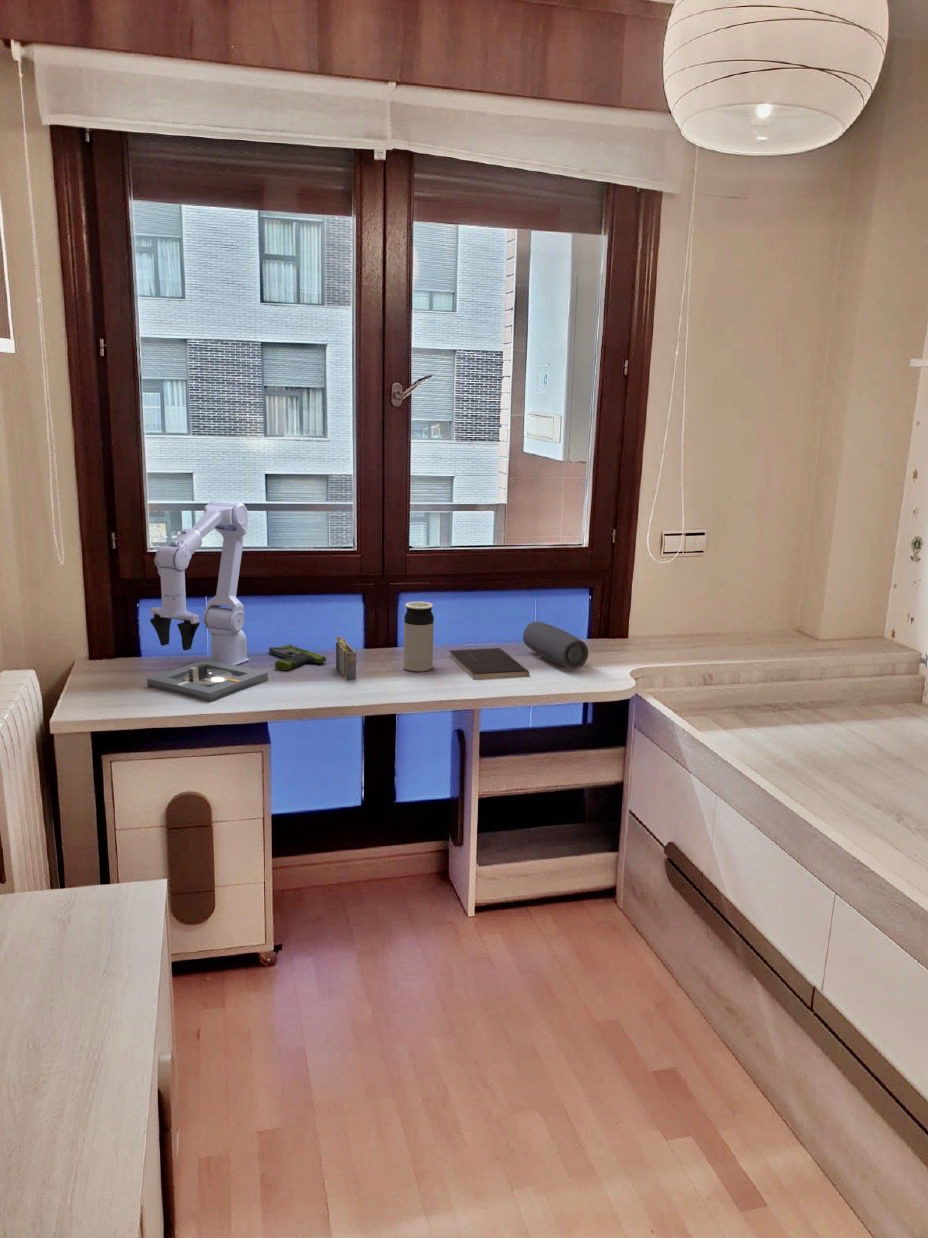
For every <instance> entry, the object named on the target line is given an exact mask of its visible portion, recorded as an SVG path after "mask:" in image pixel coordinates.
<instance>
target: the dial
mask: <svg viewBox="0 0 928 1238" xmlns="http://www.w3.org/2000/svg"><path fill="white" fill-rule="evenodd" d="M229 679H233V675H232V673H231V672H228V671H225V670H218V669H207V665H206V664H201V665H198V666H195V667H191V668H189V673H188V674H186V675H185V676H184V681H187V682H190V683H194V684H198V685H203V686H207V687H210V686H214V685H217V684H219V683H222V682H225V681H228V680H229Z"/></svg>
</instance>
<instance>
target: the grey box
mask: <svg viewBox="0 0 928 1238" xmlns="http://www.w3.org/2000/svg"><path fill="white" fill-rule="evenodd" d="M334 637H335V639H336V640H337V641H336V642H335V668H336V669H337V671H339V673H340V674H341V675H342V676H343V678H344V679H345V680H347V681H348V680H350V681H351V680H356V679H357V652H356V650H354V649H353V648H352V647H351V645H350V644H348V642H347V641H346V639H345V638H343V637H339V636H337V635H334Z"/></svg>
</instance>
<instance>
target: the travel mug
mask: <svg viewBox="0 0 928 1238" xmlns="http://www.w3.org/2000/svg"><path fill="white" fill-rule="evenodd" d="M404 605H405V607H406V608H405V609H406V612H405V613H404V618H403V619H404V621H403V622H404V623H403V627H404V629H403V668H404V669H405V670H407V671H409V672H414V673H415V672H416V673H419V672H420V673H422V672H427V671H428V672H429V671H430V670H432V669H433V665H434V663H433V662H434V660H433V657H434V624H435V623H434V620H435V617H434V614H433V612H432V609H433V607H434V605H433V603H431V602H427V601H410V602H406V603H405V604H404Z"/></svg>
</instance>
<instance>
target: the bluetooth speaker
mask: <svg viewBox="0 0 928 1238" xmlns="http://www.w3.org/2000/svg"><path fill="white" fill-rule="evenodd" d="M522 641H523V643H524V644H525V646H527V648H529V649H530V650H531V651H533V652H534V653H536V654H538V655H539V656H541V659H542V660H543V661H545V662H547V663H548V664H550V665H552V666H554V667H558V668H566V669H567V668H568V669H571V670H576V669H579V668H582V667H583V666H584V665H585V664H586V662H587V660H588V658H589V648H588V646H587V644H586V643H585V642H584V641H583V640H581V639H580V638H579V637H576V636H574V634H571V633H569V632H567V631H565V630H563V629H561V628H559V627H556V626H554V625H551V624H548V623H545V622H543V621H532V622H530V623H529V624H528V625H527V626H526V627H525V629H524V630H523V634H522Z"/></svg>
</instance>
